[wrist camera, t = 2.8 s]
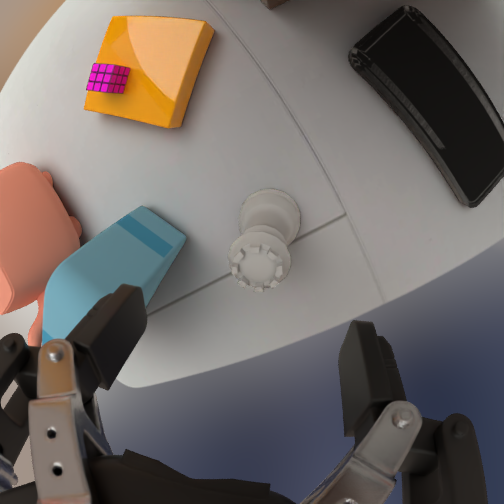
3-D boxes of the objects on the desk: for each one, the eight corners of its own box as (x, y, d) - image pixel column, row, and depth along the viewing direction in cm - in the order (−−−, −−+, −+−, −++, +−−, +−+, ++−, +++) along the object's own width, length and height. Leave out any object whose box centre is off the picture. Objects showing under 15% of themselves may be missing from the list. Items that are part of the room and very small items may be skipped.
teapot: (0, 186, 23) (-70, 223, 13) (35, 119, 19) (-61, 145, 8) (80, 312, 29) (26, 378, 19) (134, 277, 25) (62, 365, 15)
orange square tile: (127, 22, 15) (96, 9, 11) (215, 29, 15) (196, 10, 11) (99, 108, 18) (65, 111, 15) (181, 127, 19) (154, 130, 15)
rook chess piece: (238, 239, 22) (210, 299, 15) (243, 183, 20) (213, 220, 13) (295, 248, 22) (294, 313, 14) (305, 192, 19) (311, 235, 12)
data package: (148, 199, 21) (44, 272, 11) (192, 230, 22) (113, 329, 11) (107, 290, 27) (41, 368, 16) (141, 315, 27) (84, 402, 17)
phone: (408, 0, 10) (519, 156, 13) (403, 5, 11) (512, 153, 14) (343, 55, 14) (469, 214, 17) (340, 58, 15) (463, 210, 18)
